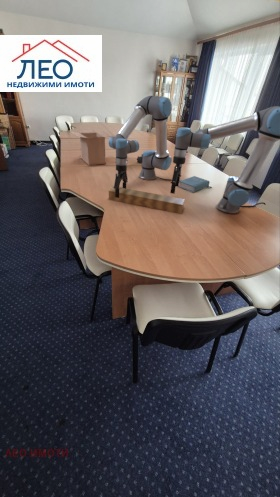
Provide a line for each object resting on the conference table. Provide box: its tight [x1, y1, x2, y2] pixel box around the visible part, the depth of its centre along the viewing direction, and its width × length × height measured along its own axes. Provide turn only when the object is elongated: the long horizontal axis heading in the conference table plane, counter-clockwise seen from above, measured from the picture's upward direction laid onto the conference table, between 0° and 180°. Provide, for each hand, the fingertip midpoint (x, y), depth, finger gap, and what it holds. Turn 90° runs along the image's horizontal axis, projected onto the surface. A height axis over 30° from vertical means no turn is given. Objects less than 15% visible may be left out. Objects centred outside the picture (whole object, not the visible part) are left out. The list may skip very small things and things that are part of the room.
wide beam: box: [108, 186, 186, 214], centre depth 158 cm, size 54×10×6 cm, turn 72°
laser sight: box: [136, 153, 143, 164], centre depth 239 cm, size 10×22×10 cm, turn 78°
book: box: [178, 175, 211, 193], centre depth 191 cm, size 23×16×5 cm
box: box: [70, 129, 114, 166], centre depth 229 cm, size 44×36×27 cm
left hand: (120, 194), depth 162 cm, fingers open, 13 cm apart
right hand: (174, 189), depth 147 cm, fingers open, 13 cm apart
